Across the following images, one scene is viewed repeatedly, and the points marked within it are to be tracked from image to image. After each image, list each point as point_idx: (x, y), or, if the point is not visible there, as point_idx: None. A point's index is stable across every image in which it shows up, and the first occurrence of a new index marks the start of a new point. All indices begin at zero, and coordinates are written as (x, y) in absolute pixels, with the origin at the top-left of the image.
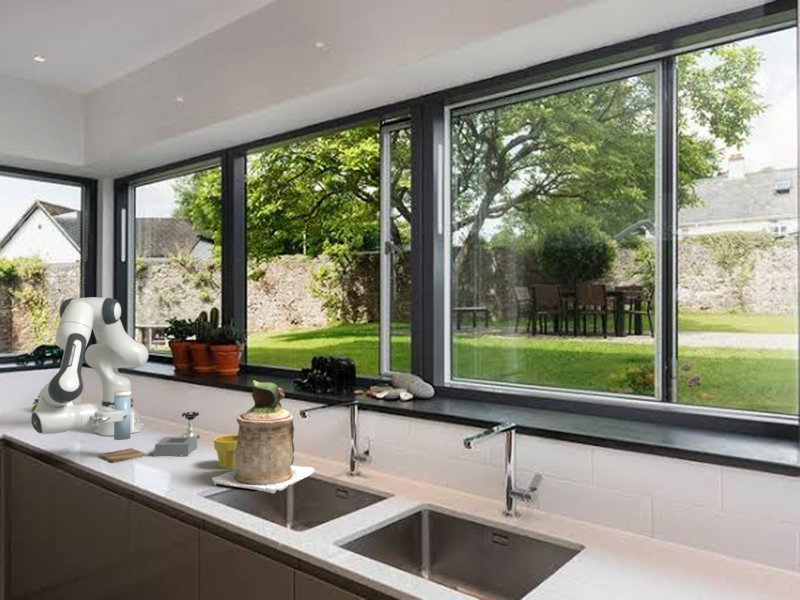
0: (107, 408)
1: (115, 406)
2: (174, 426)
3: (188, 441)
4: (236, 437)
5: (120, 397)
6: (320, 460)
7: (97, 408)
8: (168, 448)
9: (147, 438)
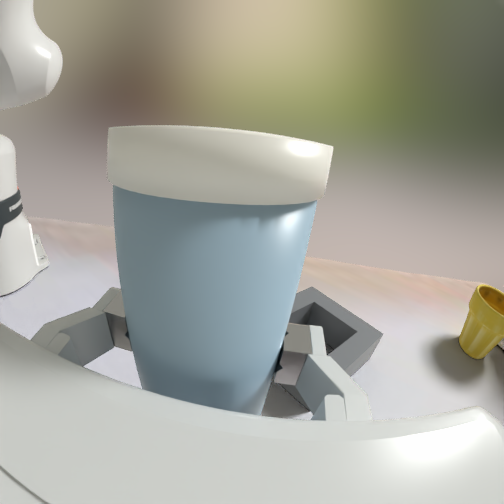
0: (170, 462)
1: (196, 350)
2: (96, 230)
3: (352, 319)
4: (479, 290)
5: (297, 217)
6: (470, 282)
7: (4, 468)
8: (347, 371)
9: (97, 292)
